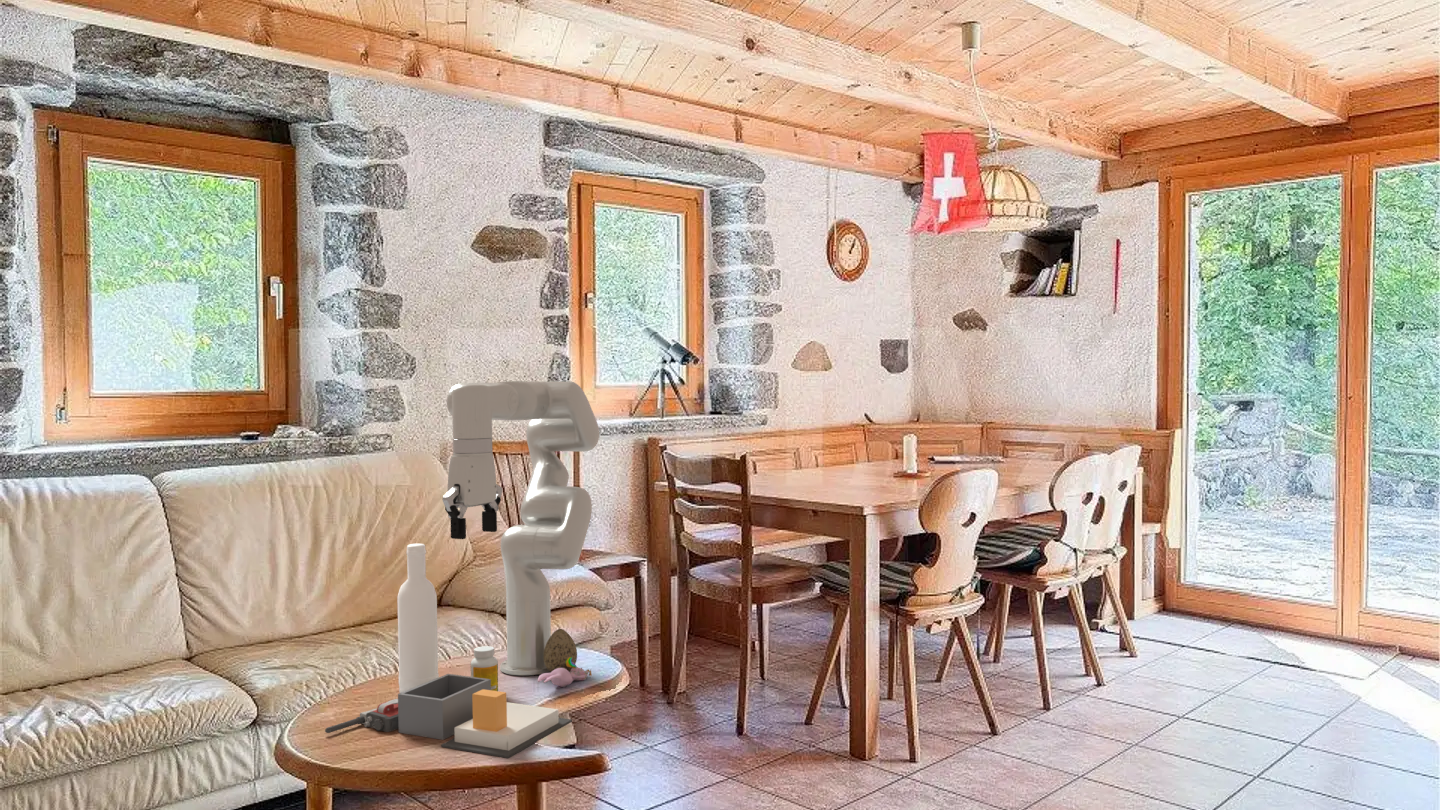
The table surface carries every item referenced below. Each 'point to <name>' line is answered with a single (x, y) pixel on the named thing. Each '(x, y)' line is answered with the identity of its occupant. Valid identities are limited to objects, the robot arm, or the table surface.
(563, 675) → the rabbit figure
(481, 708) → the lid
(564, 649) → the decorative egg
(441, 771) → the table surface
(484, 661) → the supplement bottle
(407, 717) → the tub
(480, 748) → the mat
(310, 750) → the table surface
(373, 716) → the walkie-talkie
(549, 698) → the table surface
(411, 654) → the bottle
